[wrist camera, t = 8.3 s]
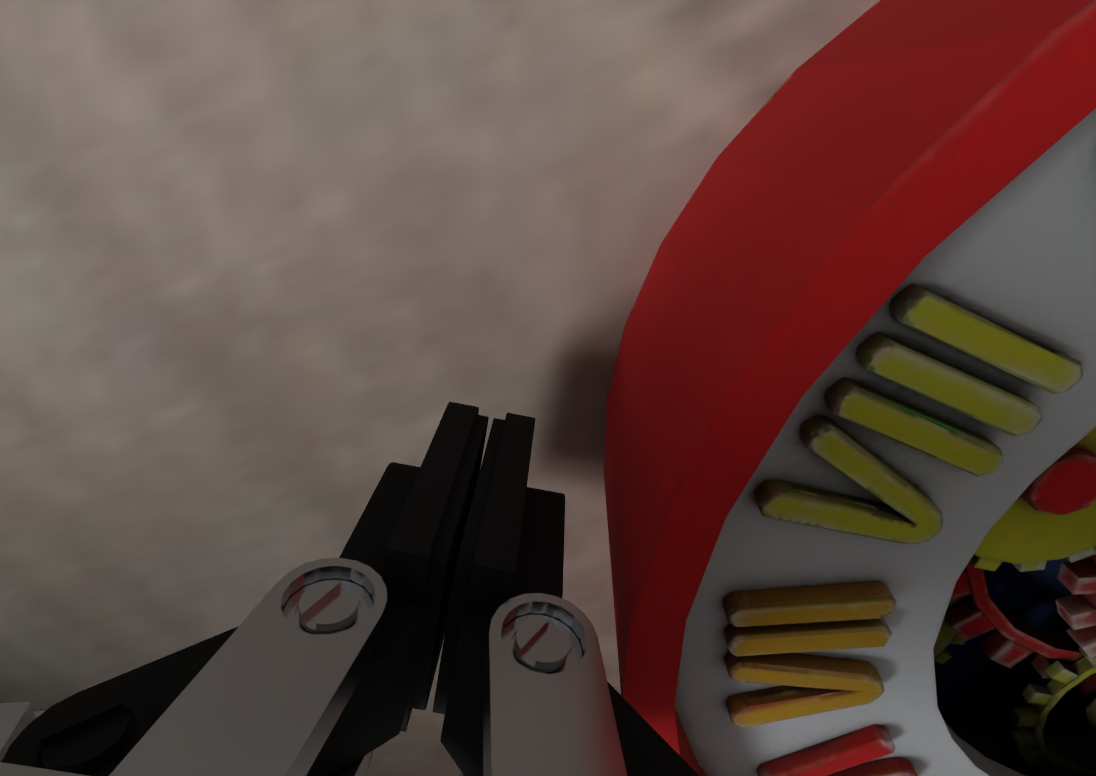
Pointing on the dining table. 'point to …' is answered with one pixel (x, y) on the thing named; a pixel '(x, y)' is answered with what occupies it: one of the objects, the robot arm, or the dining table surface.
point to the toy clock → (874, 415)
